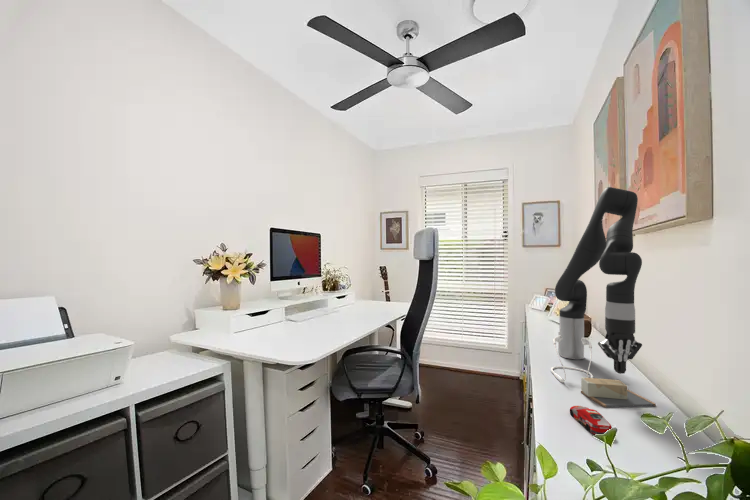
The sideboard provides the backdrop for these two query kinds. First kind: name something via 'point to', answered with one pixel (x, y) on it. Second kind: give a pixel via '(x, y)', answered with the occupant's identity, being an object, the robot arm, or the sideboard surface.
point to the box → (604, 388)
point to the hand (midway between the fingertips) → (619, 372)
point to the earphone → (585, 342)
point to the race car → (590, 419)
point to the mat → (623, 401)
